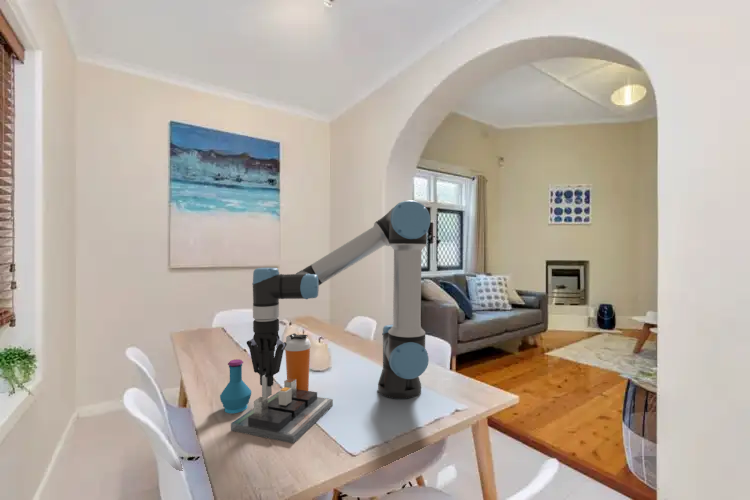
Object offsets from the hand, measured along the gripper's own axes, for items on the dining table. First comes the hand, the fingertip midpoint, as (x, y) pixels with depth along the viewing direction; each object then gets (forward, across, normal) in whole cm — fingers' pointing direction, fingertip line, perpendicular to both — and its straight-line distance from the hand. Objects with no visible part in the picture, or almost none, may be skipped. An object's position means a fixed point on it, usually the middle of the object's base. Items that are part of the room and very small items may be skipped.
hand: (266, 396), depth 109 cm
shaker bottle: (+6, 0, -17) cm, 18 cm away
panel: (+6, -6, 0) cm, 9 cm away
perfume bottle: (+6, +12, 0) cm, 13 cm away
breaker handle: (+1, -6, 0) cm, 7 cm away
